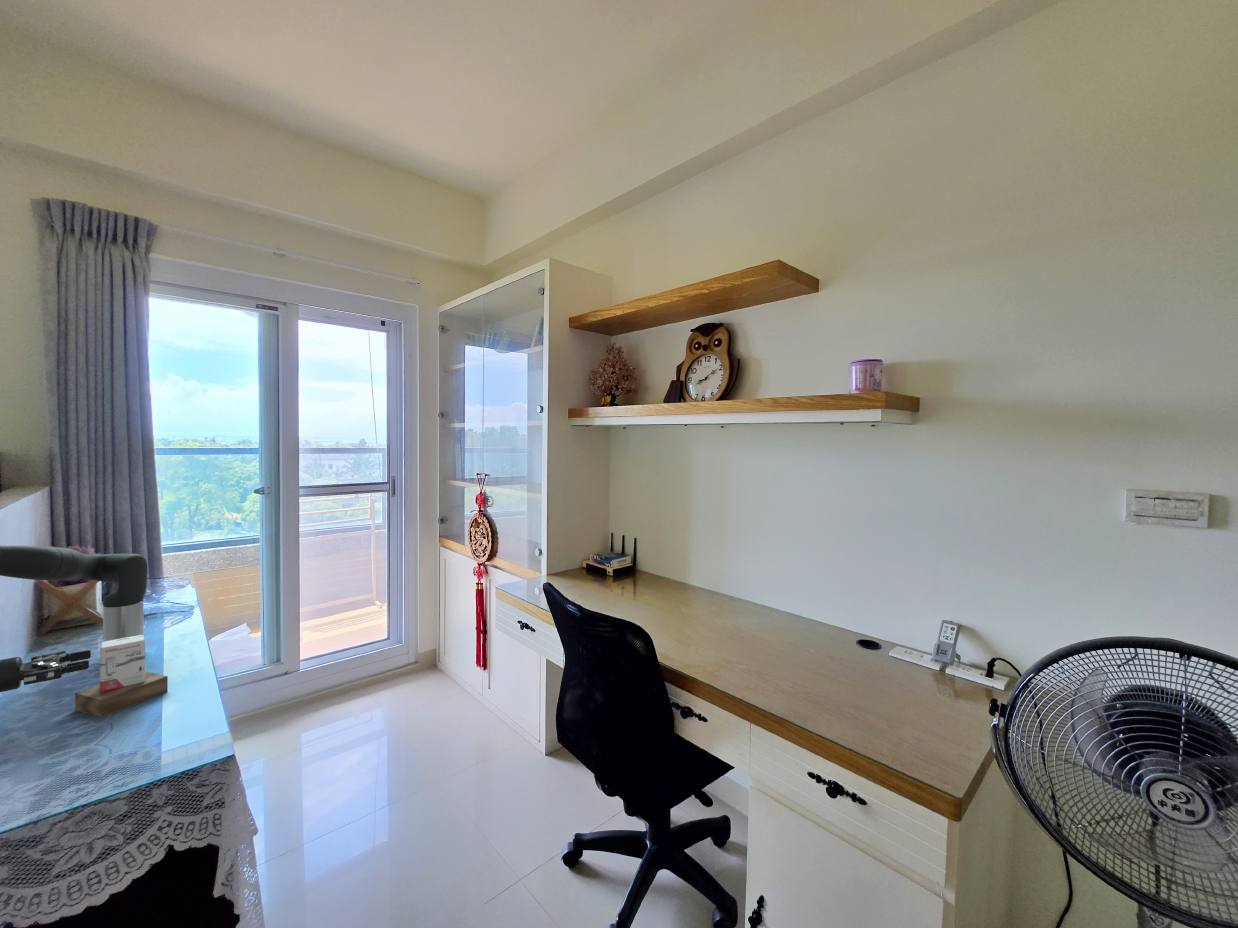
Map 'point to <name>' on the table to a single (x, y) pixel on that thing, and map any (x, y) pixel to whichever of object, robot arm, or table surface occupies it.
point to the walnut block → (120, 696)
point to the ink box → (122, 662)
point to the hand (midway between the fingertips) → (89, 658)
